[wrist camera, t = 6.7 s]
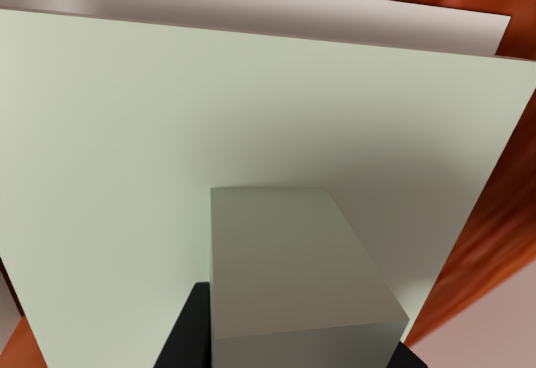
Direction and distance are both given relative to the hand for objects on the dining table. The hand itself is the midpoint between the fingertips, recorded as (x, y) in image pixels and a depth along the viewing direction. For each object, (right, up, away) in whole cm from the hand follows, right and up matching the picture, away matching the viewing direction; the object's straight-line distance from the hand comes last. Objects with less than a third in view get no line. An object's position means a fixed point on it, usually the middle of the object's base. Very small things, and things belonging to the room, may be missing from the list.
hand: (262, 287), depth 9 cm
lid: (0, +1, +1) cm, 1 cm away
